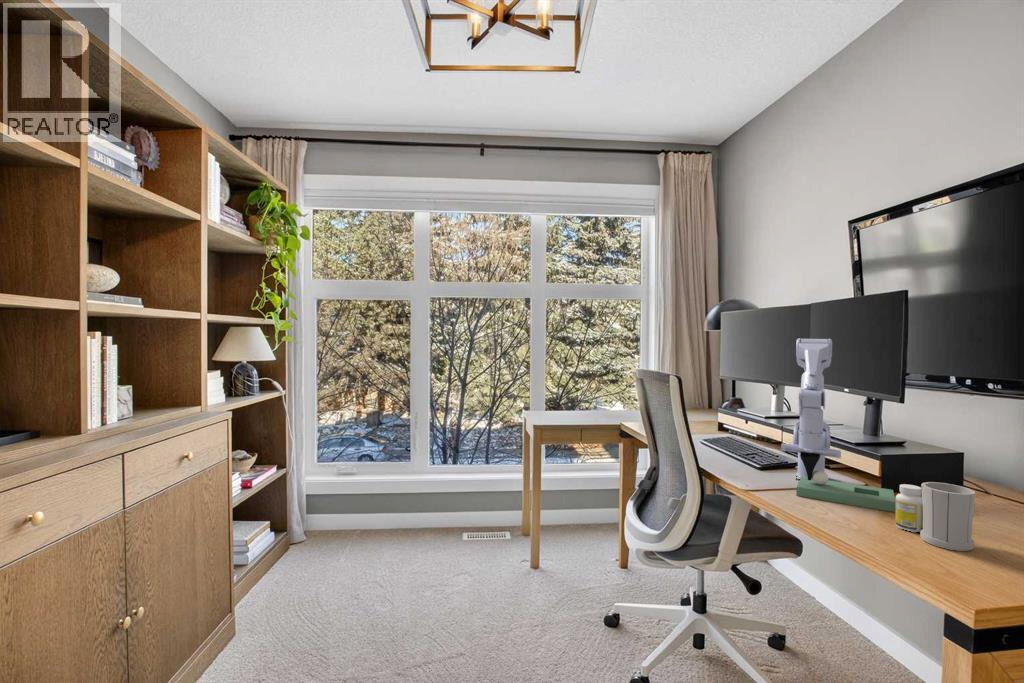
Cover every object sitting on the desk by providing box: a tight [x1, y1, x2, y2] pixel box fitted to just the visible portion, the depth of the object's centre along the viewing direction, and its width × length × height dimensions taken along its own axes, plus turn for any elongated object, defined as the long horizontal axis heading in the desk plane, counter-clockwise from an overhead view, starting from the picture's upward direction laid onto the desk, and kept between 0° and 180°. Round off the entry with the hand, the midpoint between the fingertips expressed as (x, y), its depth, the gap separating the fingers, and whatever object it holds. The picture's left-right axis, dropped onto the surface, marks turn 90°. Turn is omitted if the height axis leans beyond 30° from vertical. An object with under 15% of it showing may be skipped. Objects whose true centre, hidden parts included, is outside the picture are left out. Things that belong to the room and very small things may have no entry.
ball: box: [812, 470, 829, 485], centre depth 143 cm, size 4×4×4 cm
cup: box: [919, 481, 977, 552], centre depth 109 cm, size 10×9×12 cm
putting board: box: [795, 476, 896, 513], centre depth 139 cm, size 13×22×2 cm, turn 56°
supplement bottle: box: [895, 483, 923, 533], centre depth 117 cm, size 5×5×10 cm
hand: (809, 479), depth 144 cm, fingers closed, pressing on ball
